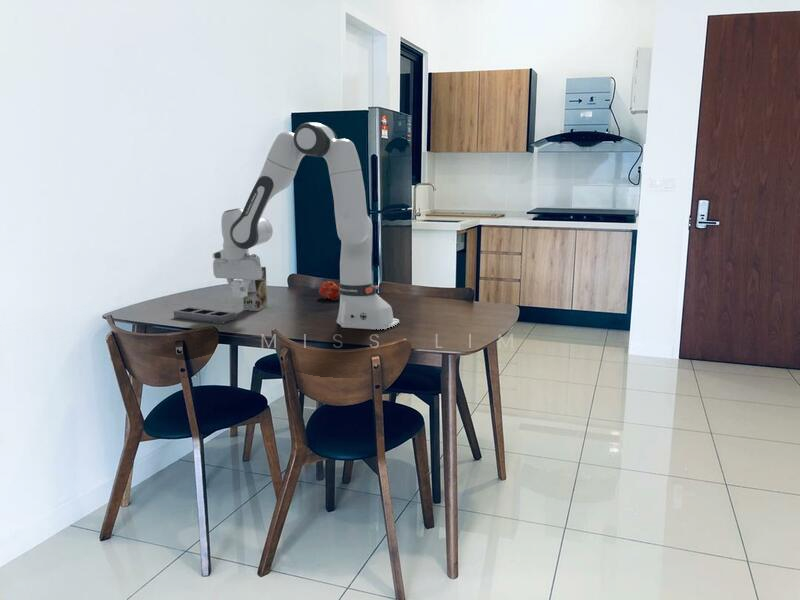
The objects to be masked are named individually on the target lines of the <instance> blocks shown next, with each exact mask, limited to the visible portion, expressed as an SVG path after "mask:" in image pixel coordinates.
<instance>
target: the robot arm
mask: <svg viewBox="0 0 800 600" xmlns="http://www.w3.org/2000/svg"><path fill="white" fill-rule="evenodd" d="M305 156H310V157H317V158H318V157H319V158H324V160H325V162H326V164H327V168H328V175H329V180H330V185H331V191H332V196H333V197H332V198H333V204H334V205H333V206H334V207H333V208H334V217H335V218H334V219H335V225H336V232H337V237H338V239H339V240H340V241H341V246H340V256H339V258H340V259H339V280H340V281H339V296H340V297H339V309H338V314H337V318H336V324H338V325H340V328H343V329H344V328H347V329H363V330H376V329H377V330H378V331H379V330H380V329H381V330H380V331H383V330H382V329H384V330H388V329H387V328H389V329H391V328H390V327H392V328H394V327H396V326H398V325H399V324H400V319H398V318H395V317H394V313H393V309H392V306H391V304H389V303H388V302H387V301H386V300H384V299H383V298H382V297H381V296H380V295H378V294H377V289H379V285H374V283H373V282H372V281H373V279H372V254H373V221H372V219H371V217H370V216H369V215H368V209H367V199H366V190H365V183H364V178H363V177H364V176H363V171H362V165H361V162H360V157H359V154H358V151H357V149H356V146H355V144H354V142H353V141H352V140H350V139H347V138H338V136H337V134H336V132H335V131H334V130H333V128H331V127H330V126H328V125H326V124H322V123H320V122H311V121H309V122H303V123H302V124H300V125H299V126H298V127H297V128H296V129H295V130H294V132H291V131H282V132H280V133H279V134H278V135H277V136H276V138H275V140H274V141H273V143H272V145H271V147H270V150H269V151H268V154H267V156H266V159H265V161H264V164H263V167H262V169H261V170H260V174H259V176H258V178H257V180H256V182H255V184H254V186H253V188H252V191H251V192H250V194H249V196H248V198H247V201H246V203H245V206H244V207H243V208H233V209H228V210H225V211H224V212H222V215H221V220H220V222H221V227H220V228H221V235H222V238H223V243H222V248H223V249H221V250H218V251H215V252H213V253H212V258H213V259H214V260H213V262H212V270H213V276H214V277H215V278H216V279H226V282H227V284H228V285H229V286H230V287H229V289H230V291H231V281H234V280H242V279H243V281H244V282H245V284H244V286H243V287H242V291H245V292H246V291H248V286H249V283H250V280H259V279H261V278H262V276H263V274H262V268H261V267H262V263H261V258H260V257H259V255H257V254H255V253H249V249H251V248H253V247H255V246H259V245H261V244H264V243H267V242H268V241H269V240H270V239H271V238H272V236H273V226H272V224H271V222H270V220H268V219H267V218H264V217H262V215H263V214H264V212H265V209H266V208H267V205H268V203H269V202H270V200H271V199H272V198H273V197H275V196H276V195H277V194H278V193H281V192H282V191H284V190H285V189H287V188H288V187H289V186H290V185H291V183H292V182H293V181H294V179H295V176H296V175H297V171H298V168H299V166H300V163H301V161H302V159H303V158H304V157H305ZM398 323H399V324H398ZM397 324H398V325H397ZM395 325H396V326H395ZM393 326H394V327H393Z"/></svg>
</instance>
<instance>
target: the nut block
mask: <svg viewBox="0 0 800 600" xmlns="http://www.w3.org/2000/svg"><path fill="white" fill-rule="evenodd" d="M244 284H245V282H244V281H243V280H242V279H234V281H231V290H230V291H231V297H232V298H235V299H241V298H242V299H243V297H246V296H248V294H247V291H246V292H245V291H242V287H243V286H244Z"/></svg>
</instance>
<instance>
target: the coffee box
mask: <svg viewBox="0 0 800 600" xmlns="http://www.w3.org/2000/svg"><path fill="white" fill-rule="evenodd" d="M261 268H262V274H263V276H262V278H261V279H259V280H250V283H249V286H248V291H247V294H248V296H246V297H242V299H243V301H242V302H243V311H246V310H249V311H251V312H259V311H261V310H263V309H265V308H267V307H268V290H267V267H266V266H261ZM241 280H243V279H241Z"/></svg>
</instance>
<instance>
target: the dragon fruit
mask: <svg viewBox="0 0 800 600" xmlns="http://www.w3.org/2000/svg"><path fill="white" fill-rule="evenodd" d="M317 292H318V294H320V295H321V296H322V297H323V300H326V299H327V298H328V299H329V300H332V301H337V300H339V299H337V298H340V296H339V284H338V283H335V282H334V281H332V280H331V281H330V280H326V281H324V282H322V284H320V286H319V290H318V291H317ZM328 299H327V300H328Z"/></svg>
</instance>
